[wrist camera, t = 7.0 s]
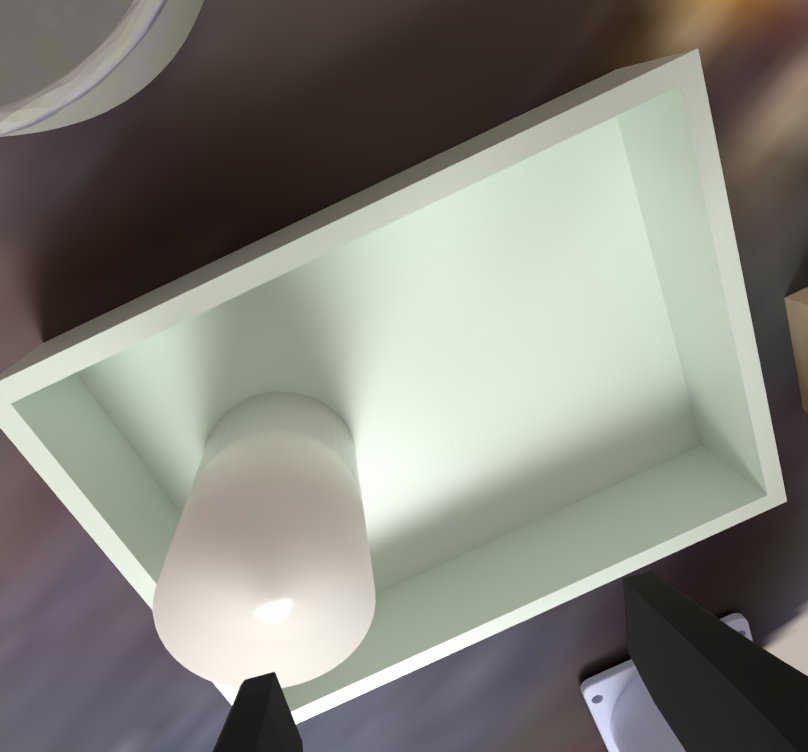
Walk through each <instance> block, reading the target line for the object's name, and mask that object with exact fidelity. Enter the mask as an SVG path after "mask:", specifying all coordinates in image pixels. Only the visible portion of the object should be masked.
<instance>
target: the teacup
mask: <svg viewBox="0 0 808 752" xmlns="http://www.w3.org/2000/svg"><path fill="white" fill-rule="evenodd" d="M203 2H204V0H0V137H1V136H14V135H22V134H29V133H36V132H42V131H47V130H52V129H56V128H61V127H64V126H68V125H71V124H75V123H78V122H82V121H85V120H87V119H90V118H93V117H95V116H98V115H100V114H102V113H105V112H107V111H109V110H110V109H112V108H114V107H116V106H117V105H119V104H121V103H123V102H125V101H126V100H128V99H129V98H131V97H132V96H134V95H135V94H136V93H138V92H139V91H141V90H142V89H143V88H144V87H145V86H146V85H148V84H149V83H150V82H151V81H152V80H153V79H154V78H155V77H156V76H157V75H158V74H159V73H160V72H161V71H162V70H163V69H164V68H165V67H166V66H167V65H168V63H169V62H170V61H171V60H172V59H173V58H174V56H175V55H176V53H177V52H178V51H179V49H180V48H181V46H182V45H183V43H184V42H185V40H186V38H187V36H188V34H189V33H190V31H191V29H192V27H193V25H194V23H195V21H196V18H197V16H198V14H199V11H200V9H201V7H202V4H203Z"/></svg>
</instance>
